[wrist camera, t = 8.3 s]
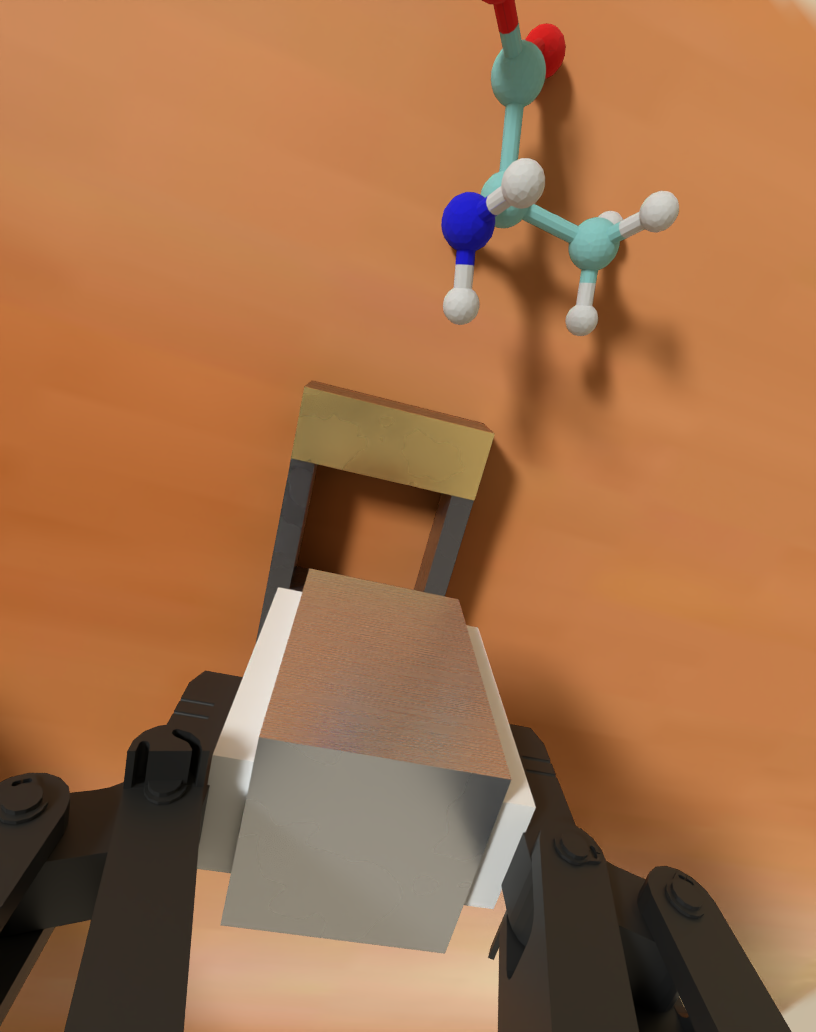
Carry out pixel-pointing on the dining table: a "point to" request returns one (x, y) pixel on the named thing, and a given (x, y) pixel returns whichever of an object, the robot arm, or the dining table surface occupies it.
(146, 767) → the robot arm
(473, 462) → the grey slotted frame
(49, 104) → the dining table surface
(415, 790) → the light grey rectangular block
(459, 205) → the molecular model
